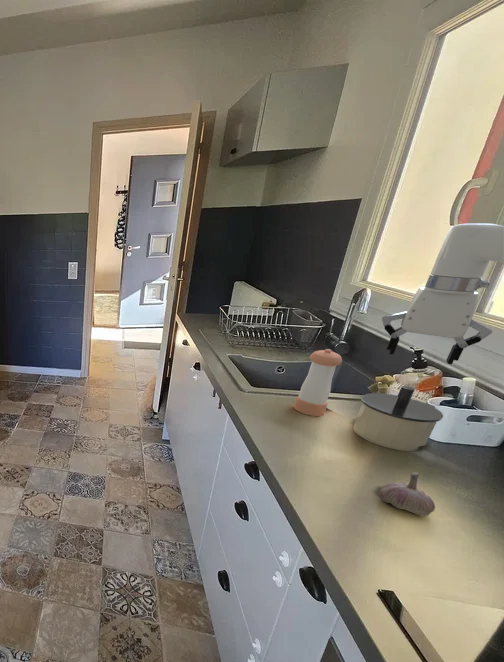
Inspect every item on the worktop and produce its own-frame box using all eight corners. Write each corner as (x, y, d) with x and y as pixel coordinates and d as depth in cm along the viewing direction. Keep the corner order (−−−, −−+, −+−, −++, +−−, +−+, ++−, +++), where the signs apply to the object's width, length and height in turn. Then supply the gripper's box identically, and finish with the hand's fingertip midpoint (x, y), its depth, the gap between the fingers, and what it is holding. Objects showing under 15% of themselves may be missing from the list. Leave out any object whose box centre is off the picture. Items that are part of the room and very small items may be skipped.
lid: (456, 419, 92) (468, 396, 90) (414, 428, 89) (425, 404, 86) (385, 394, 106) (393, 373, 103) (346, 401, 102) (353, 380, 99)
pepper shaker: (328, 411, 113) (349, 350, 106) (318, 418, 109) (340, 355, 102) (299, 402, 119) (318, 343, 111) (289, 409, 115) (308, 348, 107)
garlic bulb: (367, 496, 79) (381, 464, 76) (396, 491, 81) (411, 460, 77) (409, 523, 72) (427, 489, 69) (440, 517, 74) (458, 483, 71)
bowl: (437, 446, 96) (452, 416, 93) (400, 455, 92) (414, 424, 89) (376, 420, 108) (387, 393, 105) (340, 427, 104) (350, 400, 101)
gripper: (509, 286, 81) (472, 362, 87) (396, 278, 92) (370, 346, 98) (517, 291, 76) (476, 371, 82) (396, 282, 87) (369, 353, 93)
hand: (419, 357), depth 90 cm, fingers open, 9 cm apart
